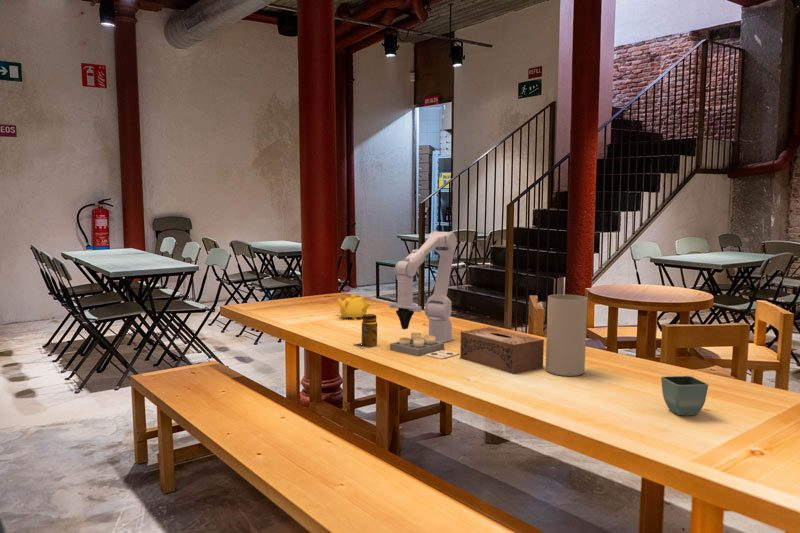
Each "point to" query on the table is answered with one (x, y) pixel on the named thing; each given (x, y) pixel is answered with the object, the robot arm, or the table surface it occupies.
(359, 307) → the teapot
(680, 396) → the flower pot
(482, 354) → the tissue box cover
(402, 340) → the button
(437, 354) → the card
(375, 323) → the condiment
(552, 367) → the cylinder vase
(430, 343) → the button
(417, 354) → the board
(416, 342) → the button
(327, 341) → the table surface
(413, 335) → the button
